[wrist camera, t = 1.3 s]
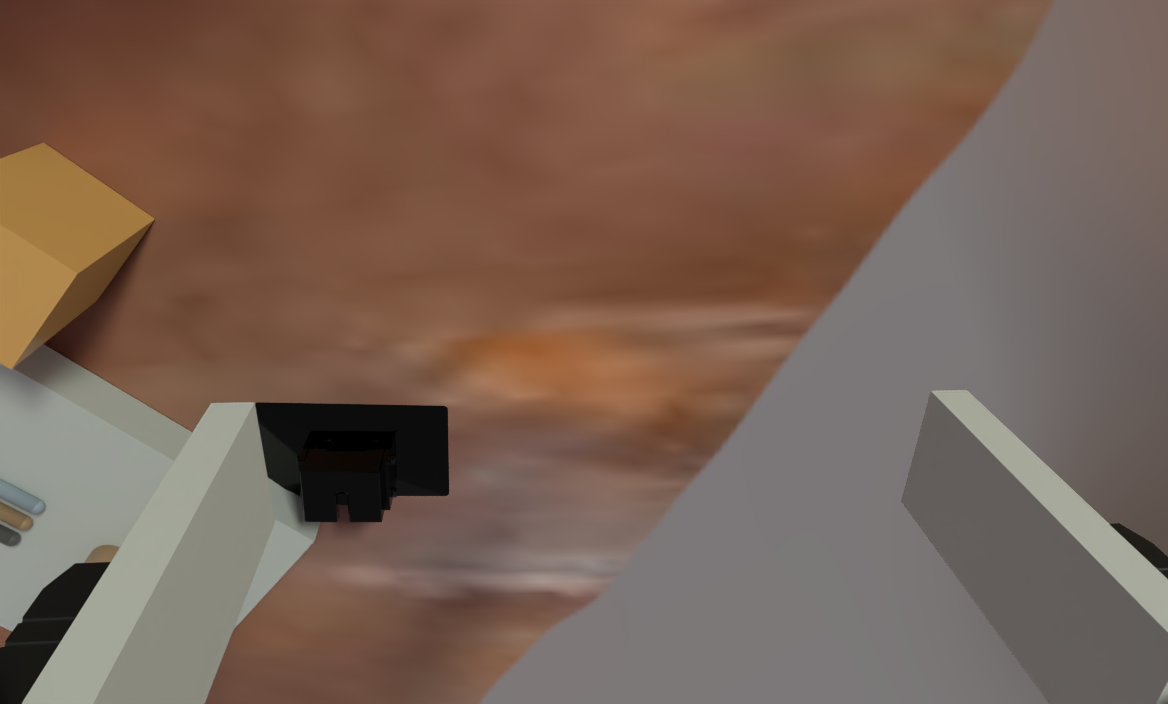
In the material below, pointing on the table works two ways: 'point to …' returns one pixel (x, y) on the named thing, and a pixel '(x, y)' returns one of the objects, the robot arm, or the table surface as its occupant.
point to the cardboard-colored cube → (56, 245)
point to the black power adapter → (354, 455)
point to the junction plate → (93, 480)
